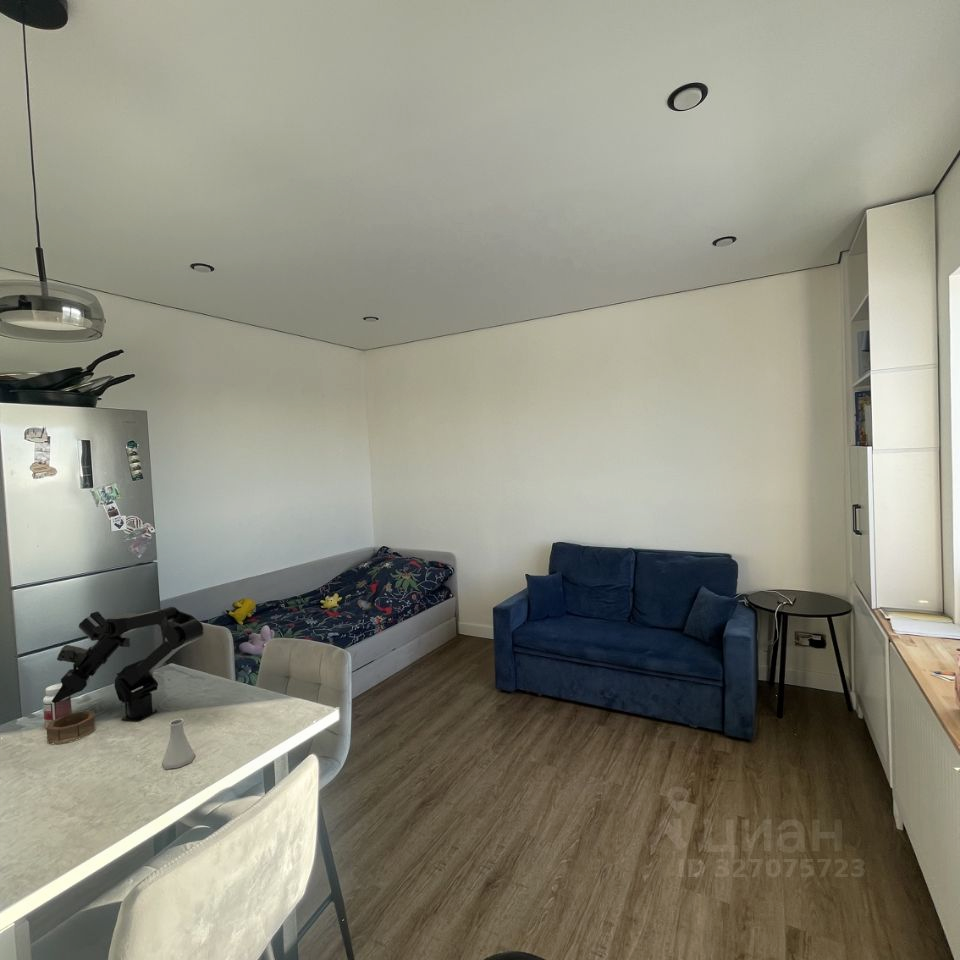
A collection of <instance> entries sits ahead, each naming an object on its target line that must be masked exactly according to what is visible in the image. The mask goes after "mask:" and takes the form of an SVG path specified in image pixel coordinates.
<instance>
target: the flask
mask: <svg viewBox="0 0 960 960" xmlns="http://www.w3.org/2000/svg"><path fill="white" fill-rule="evenodd" d="M184 722H185V720H184V719H183V718H176V719H173V720H171V721H169V723H168V725H169V727H170V732H169V733H170V734H169V738H168V739H169V740H168V743H167V746H166V750H165V753H164V755H163V759H162V762H161V766H162V768H163V769H164V770H169V769H178V768H181V767H183V766H185V765H188V764H190V763H192V762H193V760H194V759H195V757H196V754H195V751H194V750H193V748H192V746H191V745H190V743H189V740H188V738H187V736H186V734H185V730H184Z"/></svg>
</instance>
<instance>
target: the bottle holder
mask: <svg viewBox="0 0 960 960" xmlns="http://www.w3.org/2000/svg"><path fill="white" fill-rule="evenodd" d="M95 714H96V713H95V711H88V710H80V711H77V712H72V713H71V714H67V715H64V716H62V717H59V718H57V719H55V720H53V721H51V722H50V723H49V724H48V726H47V728H46V737H47V738H46V739H47V743H48V742H49V743H54V744H57V745H61V744H60V743H65V744H67V743H66V742H69V743H71V742H70V741H73V742H75V741H74V740H76V739H79V738H82V737H84V736H86V737H88V736H90V735H91V734H92V733H93V732H95V730H96V729H95V728H96V727H97V726H96V718H95V716H96V715H95ZM90 733H91V734H90ZM87 735H88V736H87ZM84 738H85V737H84ZM82 739H83V738H82ZM79 740H80V739H79ZM76 741H77V740H76ZM49 743H48V744H49ZM54 744H53V745H54Z"/></svg>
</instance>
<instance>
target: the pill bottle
mask: <svg viewBox="0 0 960 960" xmlns="http://www.w3.org/2000/svg"><path fill="white" fill-rule="evenodd" d="M61 687H62V682H61V683H55V684H53V685H50V686H48V687H46V688H45V689H44V690H45V696H44V697H43V699H42V706H43V718H44V727H45V728H46V729H47V726H48V724H49V723H50V722H51V721H53V720H55V719H57V718H59V717H62V716H64V715H67V714H71V713H73V710H72V709H73V708H72V698H71V696H72V695H71V696H69V697H67V698H65V699H63V700H61V701H59V702H57V703H53V702H52V700H53V698H54V697H55V695H56V694H57V693H58V691H59V690H60V688H61Z"/></svg>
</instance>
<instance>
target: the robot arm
mask: <svg viewBox="0 0 960 960" xmlns="http://www.w3.org/2000/svg"><path fill="white" fill-rule="evenodd" d="M169 622H173V623H177V624H178V625H177V624H176V625H174V626H172V625H171V624H170V623H169ZM155 625H158V626H160V630H161V635H162V636H163V637H164V638H165V639H164V642H162V643H161V644H160V645H159V646H157V647H156V648H155V649H154V650H153V651H152V652H151V653H150V654H149V655H147V656H146V657H145V658H143V659H140V660H138V661H136V662H133V663H131V664H128V665H126V666H124V667H123V668H122V669H121V671H120V672H118V673H116V675H117V676H116V677H115V678H114V689H115V692H116V695H117V698H118V701H120V702H121V703H123V704H124V711H125V713H124V714H125V716H123V717H121V720H122V721H128V720H130V722H141V721H143V720H144V719H146V718H148V717H150V716H152V715H153V714H155V713H157V712H158V708H157V709H156V708H153V698H152V697H153V696H152V695H153V693H152V692H154V691H156V690H158V686H159V683H158V682H157V680H156V679H155V677H154V672H155V671H156V670H157V669H159V667H161V665H163V664H164V663H165V662H166V661H168V660H169V659H170V658H171V657H172V656H173V655H174V654H176V652H178V651H179V650H180V649H181V648H184V647H185V646H187V645H189V644H192V643H194V642H195V641H197V640H198V639H201V638H202V637H203V636H204V625H203V624H202V623H201V622H200V620H198V619H197V618H195V617H194V616H193V615H191V614H188V613H185V612H183V611H180V610H178V608H176V607H175V606H168V607H164V608H161V609H157V610H152V611H148V612H144V613H140V614H139V613H136V612H126V613H123V614H120V615H119V614H118V615H116V616H112V617H110V618H107V619H106V618H104V617H103V616H102V614H101V613H100V612H99V611H94V612H91V613H90V615H89V616H87V617H85V618H84V619H83V620H82V621H81V622H80V623H79V624H78V629H79V630H81V632H82V633H83V634H85V636H86V637H88V639H89V640H91V642H92V641H93V642H94V641H96V643H95V644H93V645H92V646H90V647H89V648H83V647H80V646H79V647H78V646H74V645H70V644H65V645H63V647H62V648H61V649H60V652H59V654H58V655H57V658H56V660H57V661H59V662H67V663H72V664H73V667H72V668H71V669H69V670H68V671H67V672H65V674H64V675H63V676H62V677H61V678H60V682H61V683H62V687H61V688H60V690H59V691H58V693H57V694H56V695H55V697H54V698H53V700H52V702H53V703H57V702H59V701H61V700H63V699H65V698H67V697H69V696H72V695H75V694H77V693H80V692H82V691H83V690H84V689H85V688H86V687H87V686H88V684H89V683H90V677H93V676H94V675H95V674H96V673H97V672H98V671H99V669H100V668H101V667H103V665H105V664H106V663H107V662H108V660H109V659H110V658H111V657H112V656H113V655H114V654H115V652H117V651H118V650H119V649H120V648H130V647H131V643H130V640H131V638H130V637H125V636H123V635H124V634H128V633H131V632H133V631H135V630H137V629H141V628H145V627H151V626H155ZM156 711H157V712H156ZM142 719H143V720H142Z"/></svg>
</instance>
